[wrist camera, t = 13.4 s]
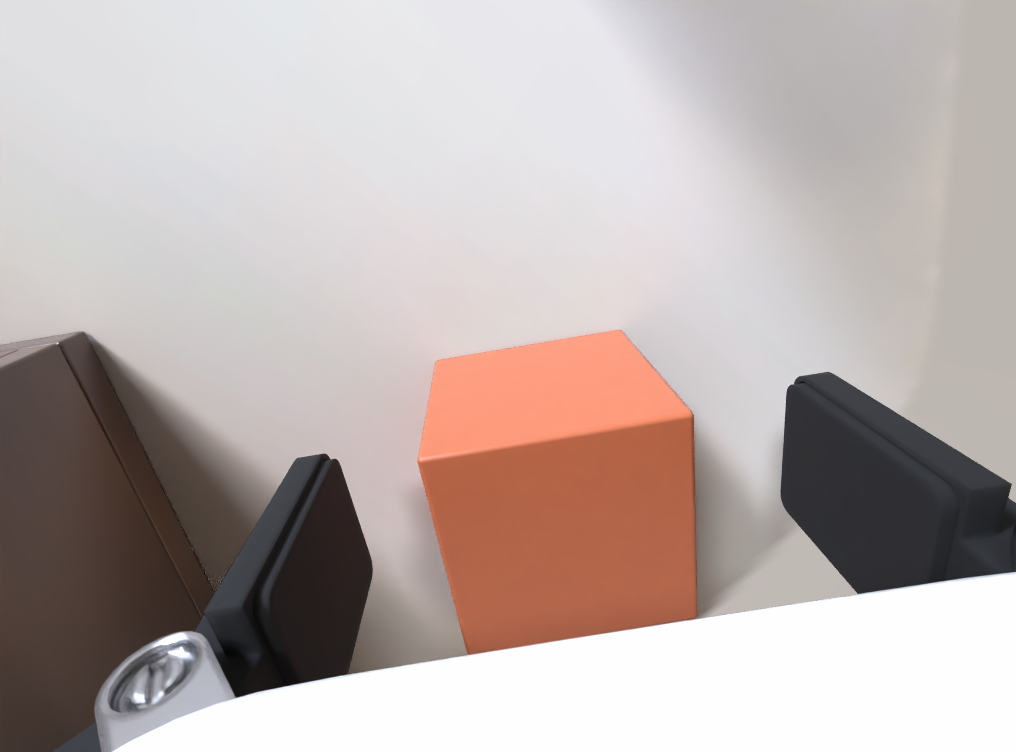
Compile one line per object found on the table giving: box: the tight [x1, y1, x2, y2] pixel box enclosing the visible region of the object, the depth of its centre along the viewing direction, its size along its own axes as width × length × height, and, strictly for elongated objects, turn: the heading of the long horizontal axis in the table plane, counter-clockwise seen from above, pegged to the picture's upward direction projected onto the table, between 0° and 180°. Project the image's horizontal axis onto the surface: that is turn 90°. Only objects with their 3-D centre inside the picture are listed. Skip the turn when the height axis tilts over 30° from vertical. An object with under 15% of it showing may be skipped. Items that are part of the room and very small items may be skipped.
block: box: [417, 330, 698, 655], centre depth 11 cm, size 4×4×4 cm
